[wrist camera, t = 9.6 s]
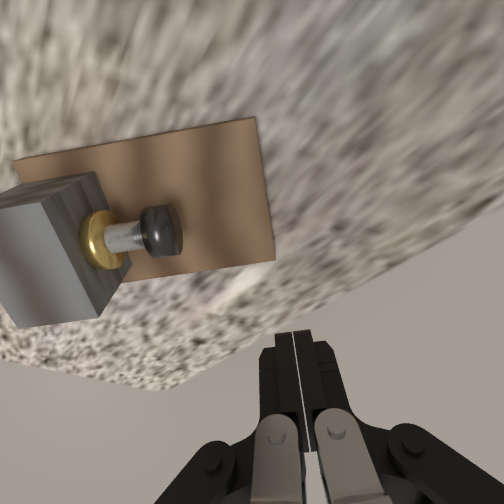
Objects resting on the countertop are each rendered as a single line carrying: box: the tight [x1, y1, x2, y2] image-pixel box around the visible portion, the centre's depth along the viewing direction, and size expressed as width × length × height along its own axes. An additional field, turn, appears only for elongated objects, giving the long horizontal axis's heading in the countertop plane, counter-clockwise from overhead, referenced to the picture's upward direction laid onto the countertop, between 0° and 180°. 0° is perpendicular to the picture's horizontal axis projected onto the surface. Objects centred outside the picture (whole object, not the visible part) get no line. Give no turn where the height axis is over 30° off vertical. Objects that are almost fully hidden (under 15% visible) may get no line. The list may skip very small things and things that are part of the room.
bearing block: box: [0, 116, 276, 329], centre depth 28 cm, size 22×14×10 cm, turn 99°
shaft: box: [79, 203, 183, 270], centre depth 27 cm, size 20×5×5 cm, turn 99°
